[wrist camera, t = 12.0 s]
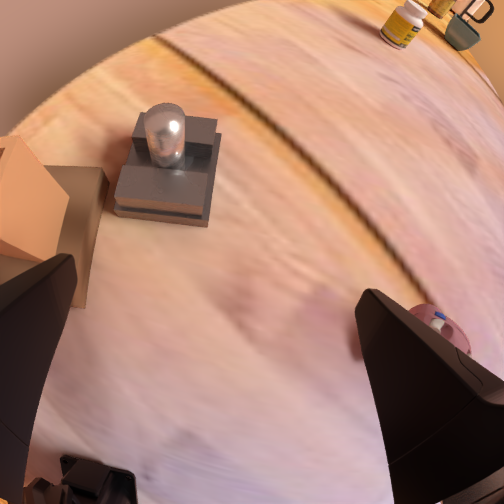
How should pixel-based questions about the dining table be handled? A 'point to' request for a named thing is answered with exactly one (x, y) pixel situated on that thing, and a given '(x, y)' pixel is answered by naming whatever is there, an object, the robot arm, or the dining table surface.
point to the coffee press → (471, 9)
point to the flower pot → (461, 33)
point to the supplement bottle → (403, 25)
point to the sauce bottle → (440, 7)
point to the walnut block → (72, 224)
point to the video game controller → (442, 326)
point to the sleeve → (28, 204)
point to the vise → (169, 168)
